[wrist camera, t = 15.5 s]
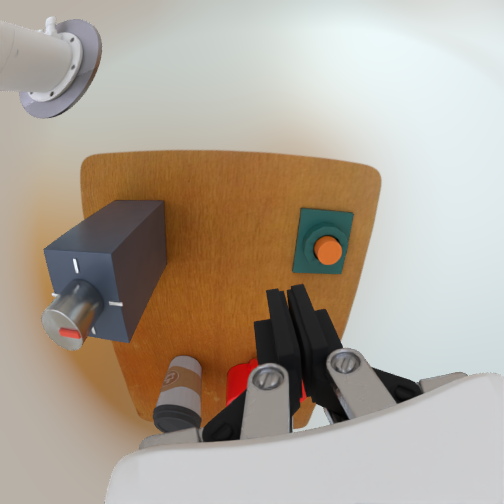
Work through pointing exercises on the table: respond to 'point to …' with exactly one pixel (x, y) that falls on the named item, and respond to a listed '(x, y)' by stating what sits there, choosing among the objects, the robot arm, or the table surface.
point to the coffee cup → (180, 396)
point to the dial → (72, 314)
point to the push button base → (314, 228)
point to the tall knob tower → (114, 262)
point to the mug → (238, 379)
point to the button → (327, 250)
